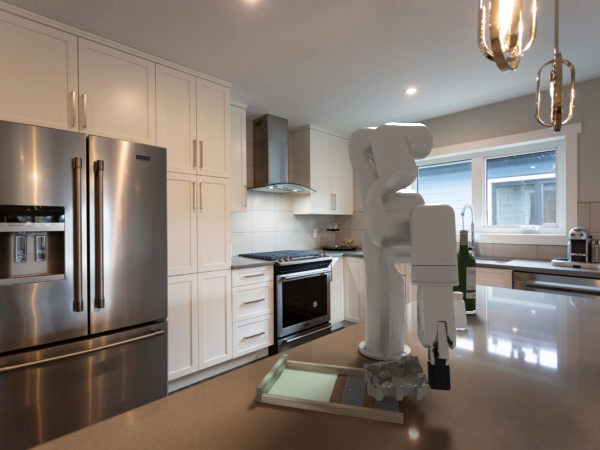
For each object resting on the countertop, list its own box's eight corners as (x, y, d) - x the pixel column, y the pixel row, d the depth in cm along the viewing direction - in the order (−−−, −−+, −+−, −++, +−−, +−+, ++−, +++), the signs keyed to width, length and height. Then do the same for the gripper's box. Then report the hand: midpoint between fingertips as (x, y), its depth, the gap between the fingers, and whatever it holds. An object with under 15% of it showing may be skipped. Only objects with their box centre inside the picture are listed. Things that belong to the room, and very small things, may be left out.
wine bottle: (475, 316, 114) (475, 230, 114) (450, 312, 118) (451, 230, 118) (476, 311, 121) (476, 230, 121) (452, 308, 125) (453, 230, 125)
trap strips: (347, 375, 69) (347, 374, 69) (396, 381, 66) (396, 380, 66) (338, 411, 55) (338, 410, 55) (399, 421, 53) (399, 419, 53)
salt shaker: (453, 330, 98) (453, 294, 98) (445, 325, 104) (445, 290, 104) (471, 330, 98) (471, 294, 98) (462, 325, 104) (462, 290, 104)
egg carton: (420, 374, 62) (420, 354, 61) (431, 403, 54) (432, 381, 54) (362, 373, 63) (362, 354, 62) (366, 402, 56) (366, 380, 55)
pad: (286, 368, 72) (286, 367, 72) (338, 374, 69) (338, 373, 69) (263, 400, 59) (263, 399, 59) (326, 410, 56) (326, 408, 56)
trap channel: (283, 364, 74) (283, 353, 74) (399, 378, 67) (399, 366, 67) (256, 401, 58) (256, 387, 58) (403, 424, 52) (403, 408, 52)
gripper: (407, 274, 64) (410, 371, 62) (416, 278, 50) (421, 405, 48) (448, 274, 62) (453, 374, 60) (470, 278, 48) (477, 410, 46)
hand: (439, 387), depth 54 cm, fingers closed
